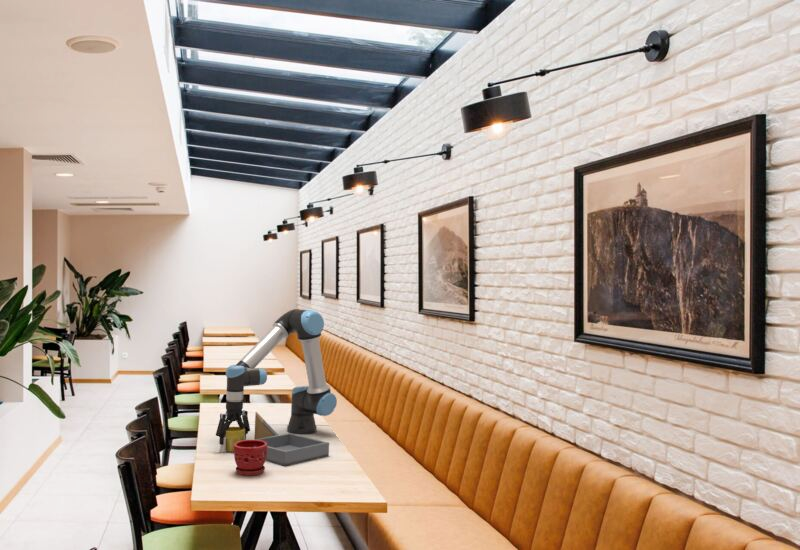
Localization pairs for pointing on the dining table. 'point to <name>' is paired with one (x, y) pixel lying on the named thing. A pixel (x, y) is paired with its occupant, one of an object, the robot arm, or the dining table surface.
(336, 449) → the dining table surface
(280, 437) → the crate
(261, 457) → the plant pot
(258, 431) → the sandwich container
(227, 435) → the plant pot
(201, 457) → the dining table surface
